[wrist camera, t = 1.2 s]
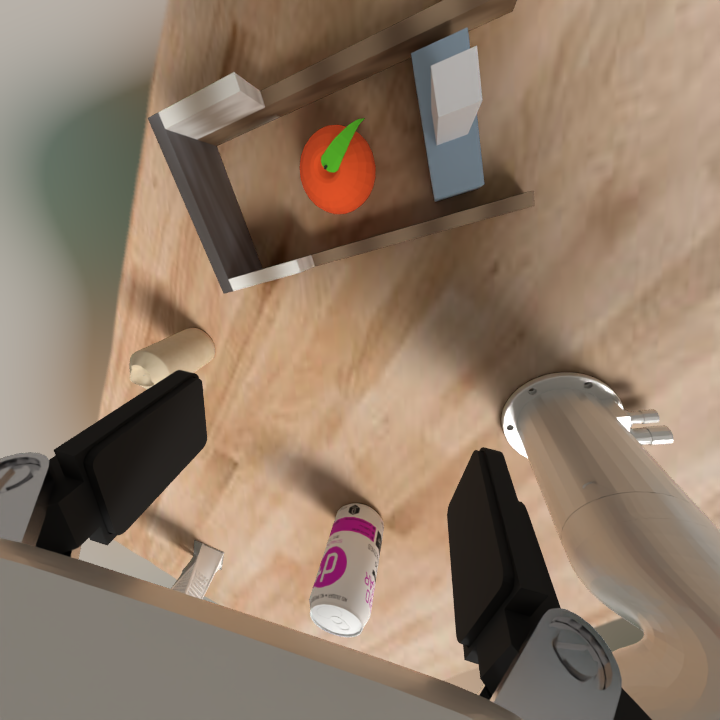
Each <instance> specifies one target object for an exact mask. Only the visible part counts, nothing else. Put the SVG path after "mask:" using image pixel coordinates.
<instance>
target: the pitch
mask: <svg viewBox="0 0 720 720" xmlns="http://www.w3.org/2000/svg"><path fill="white" fill-rule="evenodd" d="M516 1H517V0H443V1H441V2H439V3H437V4H435V5H433V6H431V7H429V8H427V9H425V10H423V11H421V12H419V13H416V14H414V15H412V16H410V17H408V18H406V19H404V20H402V21H400V22H398V23H396V24H394V25H392V26H390V27H388V28H386V29H384V30H382V31H380V32H378V33H376V34H374V35H372V36H370V37H368V38H366V39H364V40H362V41H360V42H358V43H356V44H354V45H352V46H350V47H348V48H346V49H344V50H342V51H340V52H338V53H336V54H334V55H332V56H330V57H328V58H326V59H324V60H322V61H320V62H318V63H316V64H314V65H312V66H310V67H308V68H306V69H304V70H302V71H300V72H298V73H296V74H294V75H292V76H289V77H287V78H285V79H283V80H281V81H279V82H277V83H275V84H273V85H271V86H269V87H267V88H265V89H263V90H261V91H259V90H258V89H257V88H255V87H254V86H253V85H251V84H250V83H248V82H247V81H246V80H244V79H243V78H242V77H240V76H239V75H238V74H236V73H235V72H233V73H231V74H229V75H227V76H226V77H224V78H222V79H220V80H218V81H216V82H214V83H212V84H211V85H209V86H207V87H205V88H203V89H201V90H199V91H197V92H196V93H194V94H192V95H190V96H188V97H186V98H184V99H182V100H181V101H179V102H177V103H175V104H173V105H171V106H169V107H167V108H166V109H164V110H162V111H160V112H158V113H156V114H154V115H153V116H151V117H149V118H148V120H149V122H150V124H151V127H152V129H153V131H154V134H155V136H156V138H157V141H158V143H159V145H160V147H161V150H162V152H163V154H164V157H165V159H166V161H167V164H168V166H169V168H170V171H171V173H172V175H173V177H174V180H175V182H176V184H177V187H178V189H179V191H180V194H181V196H182V198H183V201H184V203H185V205H186V208H187V210H188V212H189V214H190V217H191V219H192V221H193V224H194V226H195V228H196V231H197V233H198V235H199V238H200V240H201V242H202V244H203V247H204V249H205V251H206V254H207V256H208V258H209V261H210V263H211V265H212V268H213V270H214V272H215V274H216V277H217V279H218V281H219V284H220V286H221V288H222V291H223V293H228V292H231V291H235V290H239V289H242V288H246V287H250V286H253V285H257V284H261V283H264V282H268V281H272V280H275V279H279V278H283V277H286V276H290V275H293V274H297V273H301V272H303V271H306V270H308V269H310V268H313V267H315V266H319V265H322V264H326V263H330V262H333V261H337V260H340V259H344V258H348V257H351V256H355V255H358V254H362V253H366V252H369V251H373V250H377V249H380V248H384V247H387V246H391V245H395V244H398V243H402V242H405V241H409V240H413V239H416V238H420V237H424V236H427V235H431V234H434V233H438V232H442V231H445V230H449V229H452V228H456V227H460V226H463V225H467V224H471V223H474V222H478V221H481V220H485V219H489V218H492V217H496V216H500V215H503V214H507V213H510V212H514V211H518V210H521V209H525V208H528V207H532V206H535V205H534V191H530V192H526V193H523V194H519V195H516V196H512V197H509V198H505V199H502V200H498V201H495V202H492V203H488V204H485V205H481V206H478V207H474V208H471V209H467V210H464V211H461V212H457V213H454V214H450V215H447V216H443V217H440V218H436V219H433V220H430V221H426V222H423V223H419V224H416V225H412V226H409V227H405V228H402V229H399V230H395V231H392V232H388V233H385V234H381V235H378V236H374V237H371V238H368V239H364V240H361V241H357V242H354V243H350V244H347V245H343V246H340V247H337V248H333V249H330V250H326V251H323V252H319V253H316V254H312V255H309V256H306V257H302V258H299V259H295V260H292V261H288V262H285V263H281V264H278V265H275V266H271V267H268V268H264V269H262V266H261V263H260V261H259V258H258V255H257V253H256V250H255V247H254V245H253V242H252V239H251V237H250V234H249V231H248V229H247V226H246V223H245V221H244V218H243V215H242V213H241V210H240V208H239V205H238V202H237V200H236V197H235V194H234V192H233V189H232V186H231V184H230V181H229V178H228V176H227V173H226V170H225V168H224V165H223V162H222V160H221V157H220V154H219V152H218V149H217V145H220V144H222V143H224V142H226V141H228V140H231V139H233V138H235V137H237V136H239V135H242V134H244V133H246V132H248V131H250V130H253V129H255V128H257V127H259V126H261V125H264V124H266V123H268V122H270V121H272V120H275V119H277V118H279V117H281V116H283V115H286V114H288V113H290V112H292V111H294V110H296V109H299V108H301V107H303V106H305V105H307V104H310V103H312V102H314V101H316V100H318V99H321V98H323V97H325V96H327V95H329V94H332V93H334V92H336V91H338V90H340V89H343V88H345V87H347V86H349V85H351V84H354V83H356V82H358V81H360V80H362V79H364V78H367V77H369V76H371V75H373V74H375V73H378V72H380V71H382V70H384V69H386V68H389V67H391V66H393V65H395V64H397V63H400V62H402V61H404V60H406V59H408V58H411V57H412V56H411V53H413V52H415V51H417V50H419V49H421V48H423V47H426V46H428V45H430V44H432V43H434V42H437V41H439V40H441V39H443V38H445V37H447V36H450V35H452V34H454V33H456V32H458V31H460V30H463V29H465V28H467V27H468V31H470V30H472V29H474V28H476V27H479V26H481V25H483V24H485V23H487V22H490V21H492V20H494V19H496V18H498V17H501V16H503V15H505V14H507V13H509V12H512V11H513V9H514V6H515V4H516Z"/></svg>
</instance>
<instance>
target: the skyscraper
mask: <svg viewBox="0 0 720 720" xmlns="http://www.w3.org/2000/svg"><path fill="white" fill-rule="evenodd" d="M223 557H224V552H222V551H220V550H218V549H215V548H213V547H211V546H208V545H206V544H203V543H201V542H199V541H196V540H194V555H193V557H192V559H191V561H190V562H189V563H188V564H187V566H186V567H185V568H184V569H183V571H182V574H181V576H180V577H179V579H178V580H177V581H176V583H175V584H174V585H173V587H172V588H171V589H172V590H175V591H178V592H181V593H184V594H187V595H190V596H193V597H196V598H199V599H203V597H204V595H205V593H206V591H207V589H208V587H209V585H210V583H211V581H212V579H213V576H214V574H215V573H216V572H217V571H218V570H219V569H220V570H222V564H223Z"/></svg>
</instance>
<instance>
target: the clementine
mask: <svg viewBox="0 0 720 720" xmlns="http://www.w3.org/2000/svg"><path fill="white" fill-rule="evenodd" d="M364 119H365V118H363V119H358V120H356V121H354V122H352V123H351V124H349V125H348V126H347V127H345V126H341V125H329V126H326V127H324V128H321V129H319V130H318V131H317V132H315V133H314V134H313V135H312V136H311V137H310V139H309V140H308V142H307V143H306V145H305V146H304V149H303V152H302V155H301V160H300V177H301V181H302V185H303V188H304V190H305V192H306V194H307V195H308V197H309V199H310V200H311V201H312V202H313V203H314V204H315V205H316V206H318V207H319V208H321V209H323V210H324V211H326V212H329V213H333V214H346V213H348V212H351V211H354V210H355V209H357V208H358V207H360V206H361V205H362V204H363V203H364V202H365V201H366V200H367V198H368V197H369V195H370V193H371V191H372V189H373V186H374V181H375V162H374V158H373V153H372V151H371V149H370V147H369V145H368V143H367V141H366V140H365V139H364V138H363V137H362V136H361V135H360V134H359V133H358V132H356V129H357V128H358V126H359V125H360V123H361V122H362V121H363V120H364Z"/></svg>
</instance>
